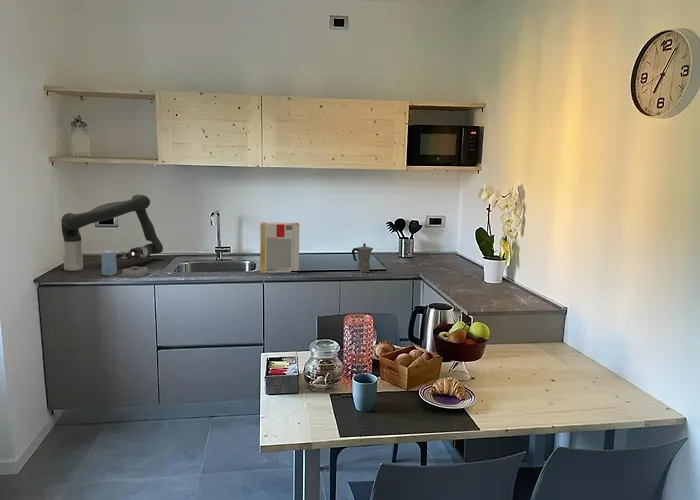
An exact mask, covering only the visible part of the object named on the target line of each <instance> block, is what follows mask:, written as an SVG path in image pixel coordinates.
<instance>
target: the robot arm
mask: <svg viewBox="0 0 700 500" xmlns="http://www.w3.org/2000/svg"><path fill="white" fill-rule="evenodd" d="M150 204H151V200H150V198H149V197H148V196H146V195H144V194H135V195H133V196H132V197H131V199H128V200H123V201H114V202H109V203H105V204H101V205H98V206H96V207H95V208H93V209H91V210H89V211H86V212H81V213H72V212H67V213H65V214H64V215H62V217H61V220H60V221H61V232H62V234H61V235H62V237H63V248H64V253H63V269H64V271H70V272H71V271H72V272H73V271H80V270H83V269H84V264H83V263H84V262H83V244H82V235H81V233H80V229H81V228H83V227H86V226H88V225H91V224H95V223H99V222H103V221H107V220H110V219H115V218H117V217H120V216H124V215H126V214H128V213H133V212H135V214H136V216H137V219H138V221H139V223H140V225H141V228H142V232H143V235H144V238H145V241H147V242H151V243H147V244H145V245H141V246H136V247H132V248H131V249H129V251H121V252H116V260H117V259H121V258H122V259H127V261H130V260H133V261H137V260H141V259H143V258H147V257H149V256H151V255H156V254H157V255H158V254H161V253H162V252H163V250H164V247H163V244H162V242H161V241H160V238H159V237H158V236H157V232H156V231H155V230H156V229H155V226H154V224H153V223H152V221H151V219H150V217H149V215H148V213H147V212H148V211H147V209H148V208H149V206H150Z"/></svg>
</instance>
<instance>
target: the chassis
mask: <svg viewBox="0 0 700 500" xmlns="http://www.w3.org/2000/svg"><path fill="white" fill-rule="evenodd" d="M149 273H150V274H151V271H148V267H141V266H131V267H129V268H125V269H122V273H121V274H120V276H122V278H130V277H131V278H133V279H139V278H142V277H144V275H145V276H147V275H146V274H148V275H150V274H149ZM141 276H142V277H141Z"/></svg>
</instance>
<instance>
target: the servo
mask: <svg viewBox="0 0 700 500" xmlns="http://www.w3.org/2000/svg"><path fill="white" fill-rule="evenodd" d="M100 254H101V257H100V258H101V268H100V271H101V273H102V276H113V275H116V273H117V272H118V271H117V269H118V266H117V259H116V255H117V252H116V251H114V250H113V251H112V250H104V251H102V252H100Z"/></svg>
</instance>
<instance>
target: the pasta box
mask: <svg viewBox="0 0 700 500" xmlns="http://www.w3.org/2000/svg"><path fill="white" fill-rule="evenodd" d="M259 226H260V237H259V238H260V247H259V248H260V250H259V251H260V254H259V255H260V256H259V257H260V261H259V262H260V263H259V265H260V266H259V267H260V268H259V269H260V271H259V272H261V273H265V272H291V271H297V270H299V271H300V223H299V222H260V225H259ZM261 273H260V274H261Z"/></svg>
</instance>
